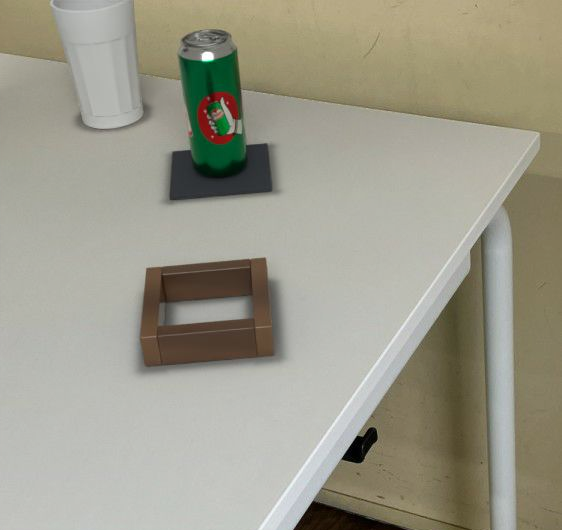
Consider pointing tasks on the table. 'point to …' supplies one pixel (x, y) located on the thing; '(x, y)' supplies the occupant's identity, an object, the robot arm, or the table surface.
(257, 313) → the collar stand
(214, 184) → the mat
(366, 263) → the table surface
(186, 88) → the soda can
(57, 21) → the cup
